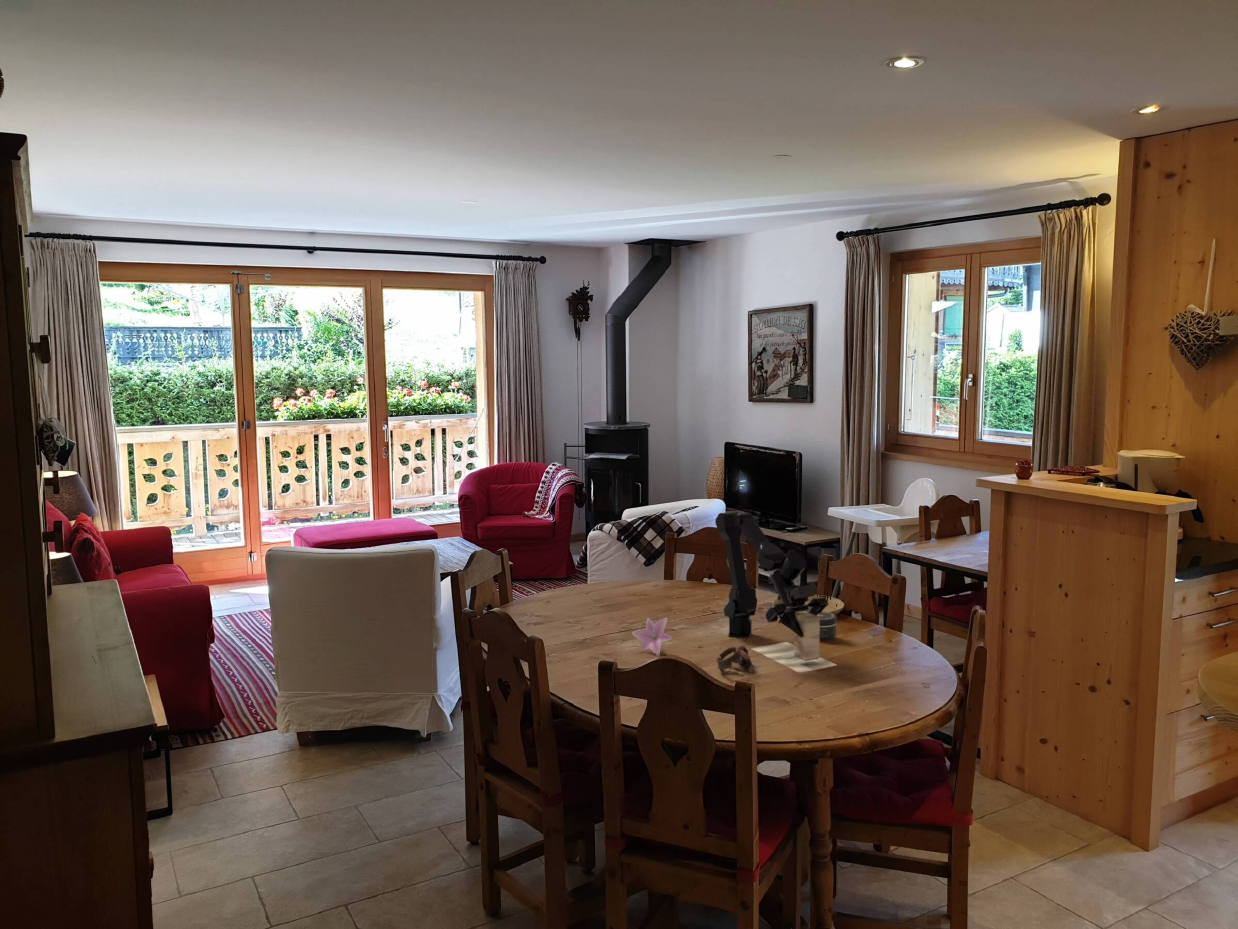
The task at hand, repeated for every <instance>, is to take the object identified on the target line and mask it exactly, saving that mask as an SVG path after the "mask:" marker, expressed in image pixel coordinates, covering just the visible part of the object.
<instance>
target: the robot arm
mask: <svg viewBox="0 0 1238 929" xmlns="http://www.w3.org/2000/svg"><path fill="white" fill-rule="evenodd" d="M714 524H715V526H716V529H717V532H718V535H719V536H720V537H721V538H722V540H723V541H724V544H725V550H726V556H727V562H728V570H729V574H730V575H729V576H730V580H731V588H730V590H729V593H728V603H726V605H725V607H724V608H723V613H724V616H725V617H727V618H728V619H729V620H728V622H729V625H728V626H729V627H728V628H729V632H728V635H727V636H728V637H731V638H732V637H733V638H735V637H736V638H749V637H750V636H751V634H752V632H753V626H752V624H753V623H752V622H753V620H752V619H751V616H755V615H756V610H757V606H758V598H757V595H756V594H757V593H756V589H755V587H751V586H750V584H748V583H749V582H748V579H747V578H748V577H747V572H746V565H745V560H744V554H743V548H742V542H741V537H742V535H744V536H745V538H746V539H747V540H748V541H749V543H750V545H751V546H752V548H753V549H754V551H755V552H756V561H757V562H758V565H759V567H760V568H761V570H762V571H763V572H772V571H773V573H770V574H769V577H768V581H767V583H768V584H769V585H770V584H773V586H774V588H775V591H776V592H777V594H778V595H777V598H778V600H782V602H783V603H781V604H775V605H773V604H772V605H770V608H769V609H768V610H767V611H766V612H765V619H766V620H767V622H768V623H775V622H777V621H778V624H782V625H783V626H785V627H786V628H787V629H790V631H792V632H793V633H794V632H795V633H796V634H797V635H798V636H800V637H803V636H804V635H803V632H802V630H801V628H800V626H799V624H798V621H797V619H796V616H795V613H796V612H802V611H804V612H805V613H810V614H813V615H815V616H817V614H819V613H821V612H822V611H823V610H824V609H825V608H826V606H827V605H828V604H829V603H828V601H827V599H826V598H825V597H817V598H813V599H812V600H811V601H810V603H808V604H805V602H806V601H807V600H808V597H810V596H814V595H815V594H816V593H818V591H819V590H818V587H817V585H816V583H815V582H814V581H810V582H807V583H806V584H805V585H799V584H796V582H795V580H797V578H798V577H799V576H800V575H801V574H802V573H803V571H804V570H805V568H806V567H807V564H808V563H807V560H806V558H805V557H804V556H802V555H801V554H799V553H798V552H797V553H796V551H795V549H792V550H788V551H787V552H786V554H785V552H784V550H782V549H781V548H780V547H779V546H777V545H776V544H774V543H772V542H771V541H769V539H768V537H767V536H766V535H765V533H764V532H763V531H762V530H761V528H760V526H759V525H758V524H757V523H756V521H755V519H754V516H753V514H752V513H750V512H739V511H727V512H720V513H718V515H717V516H716V518H715V523H714ZM777 598H776V599H777Z"/></svg>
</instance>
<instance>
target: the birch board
mask: <svg viewBox="0 0 1238 929" xmlns="http://www.w3.org/2000/svg"><path fill="white" fill-rule="evenodd" d="M750 649H751V650H753V651H755V652H757V653H758V654H760V655H762V656H765V657H767V658H769V659H771V660H773V661H775V662H777V663H778V664H781V665H782V666H785V667H787V668H789V669H791V670H793V671H794V672H796V673H799V674H801V673H803V674H804V673H808V672H811V671H816V670H817V671H818V670H821V669H826V668H830V667H836V666H837V663H836V664H835V663H834V662H832V661H830V660H827V659H825V658H823V657H820V656H819V659H814V660H809V661H804V660H802V659H800V658H798V657H796V656H794V644H793V643H790V642H788V641H784V642H779V643H774V644H768V645H762V646H757V647H752V648H750Z"/></svg>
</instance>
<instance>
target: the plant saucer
mask: <svg viewBox="0 0 1238 929" xmlns="http://www.w3.org/2000/svg"><path fill="white" fill-rule="evenodd" d="M817 595H818V594H814V596H810V597H808V600H807V601H806V602H805V604H808V603H810V601H811V600H812V599H813V598H817ZM819 595H820V594H819ZM819 595H818V597H819ZM825 596H826V599H827V595H825ZM828 597H829V598H828V603H829V604H828V605H827V606H826V608H825V609H824V610H823V612H829V613H832V614H834V615H835V616H837V615H838V614H839V613H841V611H842V610H844V606H845V603H844V602H843V601H842V600H841V599H839V598H835V597H832V596H828ZM830 597H831V600H830ZM781 603H783V602H782V600H778V598H775V599H774V600H773V601H772V605H775V604H781ZM836 604H837V607H836ZM804 613H805V612H804ZM797 614H803V613H802V612H796V613H795V615H797Z"/></svg>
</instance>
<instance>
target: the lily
mask: <svg viewBox="0 0 1238 929" xmlns="http://www.w3.org/2000/svg"><path fill="white" fill-rule="evenodd" d="M667 622H668V617H663V618H661V619H659V620H657V621H656V622H655V623H654V622H653V621H652V620H651V619H650V618H649V617H647V618H646V621H645V628H639V629H637V630H633V631H632V632H631V635H633V637H635V638H636V639H638V640H639V641H642V643H641V645H640V648H643V649H646V650H648V649H650V650H651V651H652V653H653V654H654V653H656V654H659V655H658V656H657V657H659V656H660V655H661V654H660V653H661V647H662V643H663V642H667V641H670V640H673V637H672V636H671V635H670V634H667V633H666V632H664V631H665V627H666V625H667ZM640 648H639V649H640Z"/></svg>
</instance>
